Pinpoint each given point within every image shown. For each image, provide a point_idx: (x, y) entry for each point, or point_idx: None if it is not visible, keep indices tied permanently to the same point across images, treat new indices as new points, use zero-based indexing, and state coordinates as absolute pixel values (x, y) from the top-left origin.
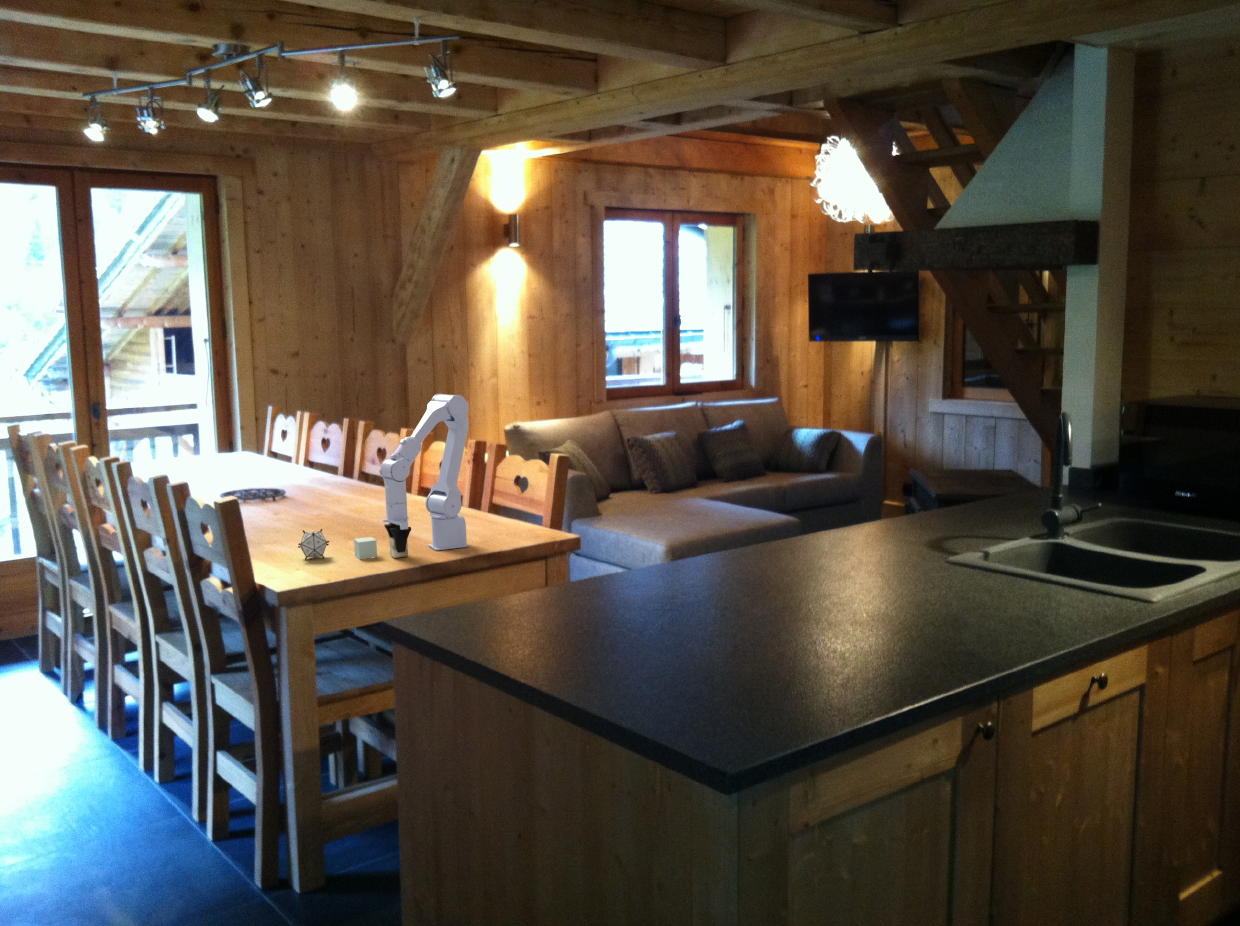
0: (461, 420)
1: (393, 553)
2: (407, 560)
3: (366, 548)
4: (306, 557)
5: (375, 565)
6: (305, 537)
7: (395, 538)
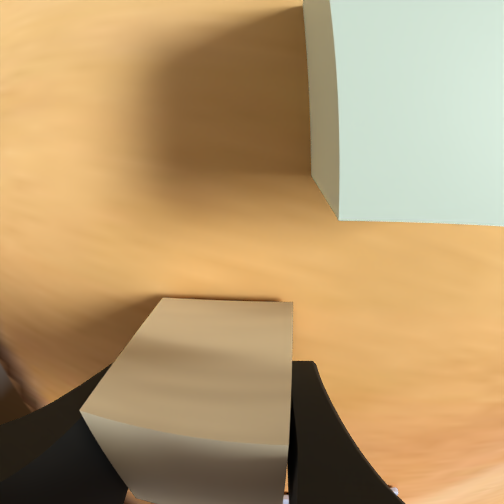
0: None
1: (157, 317)
2: (99, 347)
3: (318, 39)
4: None
5: (36, 118)
6: None
7: (17, 420)
